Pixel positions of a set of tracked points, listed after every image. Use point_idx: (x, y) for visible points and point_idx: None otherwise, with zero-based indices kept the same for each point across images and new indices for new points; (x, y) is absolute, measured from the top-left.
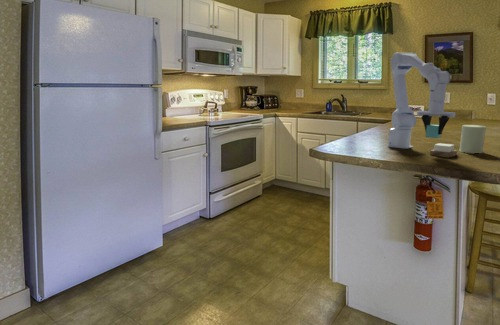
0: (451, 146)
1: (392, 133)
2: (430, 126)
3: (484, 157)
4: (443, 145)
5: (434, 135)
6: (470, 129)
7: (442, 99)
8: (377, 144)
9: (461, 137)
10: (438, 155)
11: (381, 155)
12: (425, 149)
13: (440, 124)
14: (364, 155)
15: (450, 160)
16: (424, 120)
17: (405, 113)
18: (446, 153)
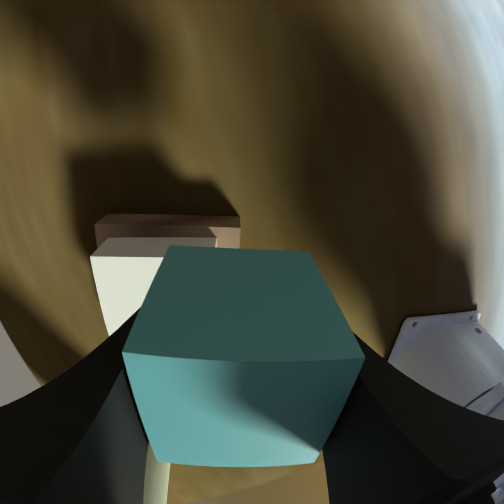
0: (100, 294)
1: (501, 364)
2: (283, 347)
3: (29, 329)
4: (143, 274)
5: (197, 261)
6: None
7: None
8: (498, 333)
9: (156, 469)
10: (179, 215)
11: (458, 28)
12: None
13: (81, 389)
14: (495, 6)
15: (75, 113)
16: (451, 424)
17: (495, 496)
18: (122, 222)
